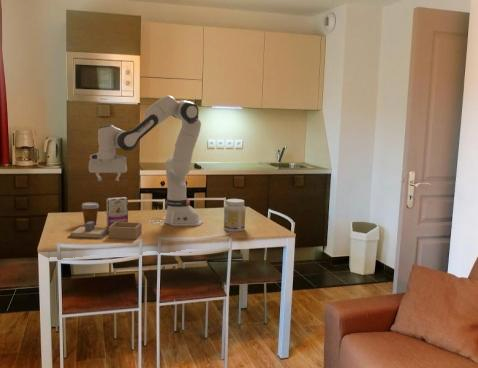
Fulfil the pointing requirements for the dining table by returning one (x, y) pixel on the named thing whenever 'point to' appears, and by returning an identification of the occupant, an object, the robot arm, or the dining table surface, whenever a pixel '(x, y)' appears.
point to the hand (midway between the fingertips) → (108, 180)
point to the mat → (89, 237)
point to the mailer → (125, 230)
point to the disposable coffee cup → (90, 211)
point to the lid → (89, 231)
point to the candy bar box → (116, 210)
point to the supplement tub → (234, 215)
